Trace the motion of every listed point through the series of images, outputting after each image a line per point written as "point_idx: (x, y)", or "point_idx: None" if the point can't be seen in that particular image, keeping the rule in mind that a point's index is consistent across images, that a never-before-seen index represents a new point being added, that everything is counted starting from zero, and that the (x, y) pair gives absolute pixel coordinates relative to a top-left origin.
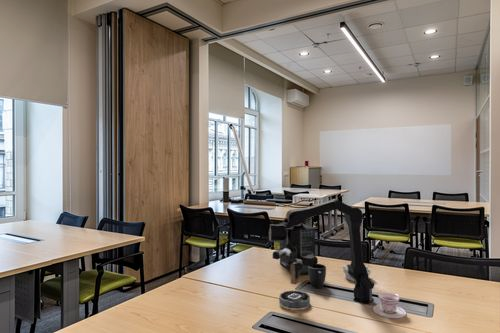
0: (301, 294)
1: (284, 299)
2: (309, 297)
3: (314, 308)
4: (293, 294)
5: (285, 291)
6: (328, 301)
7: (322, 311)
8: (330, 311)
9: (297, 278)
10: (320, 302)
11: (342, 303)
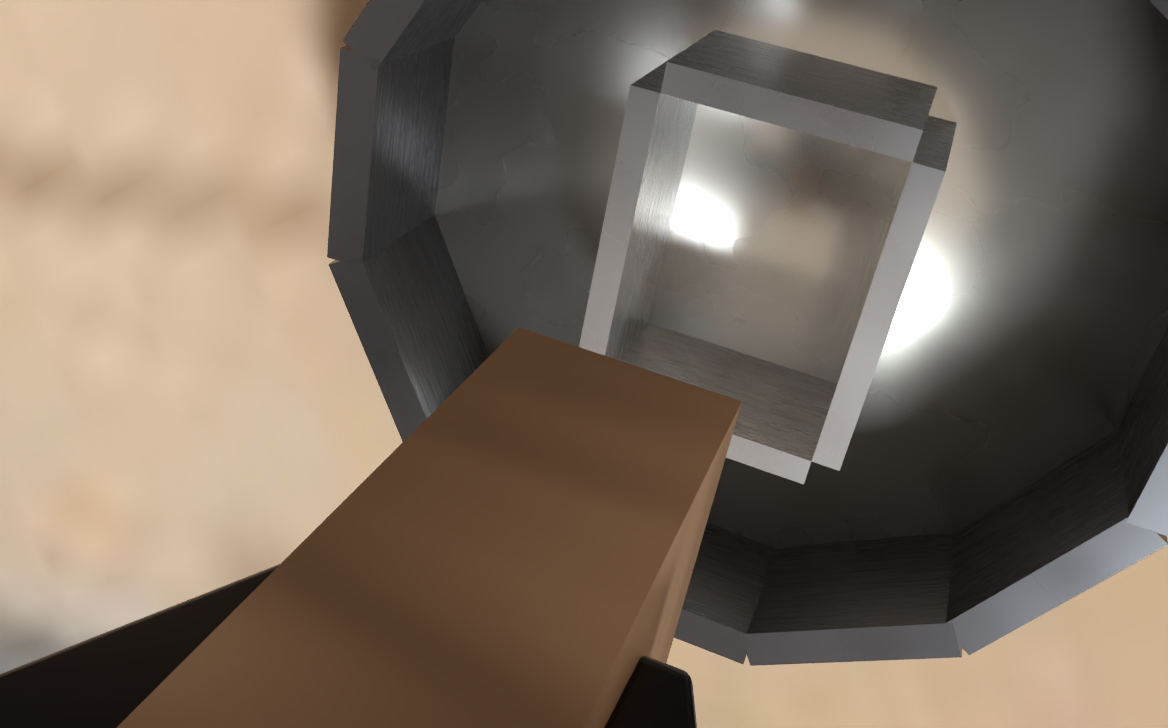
0: None
1: (1109, 303)
2: (366, 339)
3: (297, 125)
4: (824, 428)
5: (1130, 563)
6: (228, 527)
7: (119, 44)
8: (19, 111)
9: None
10: (319, 450)
11: (35, 504)
